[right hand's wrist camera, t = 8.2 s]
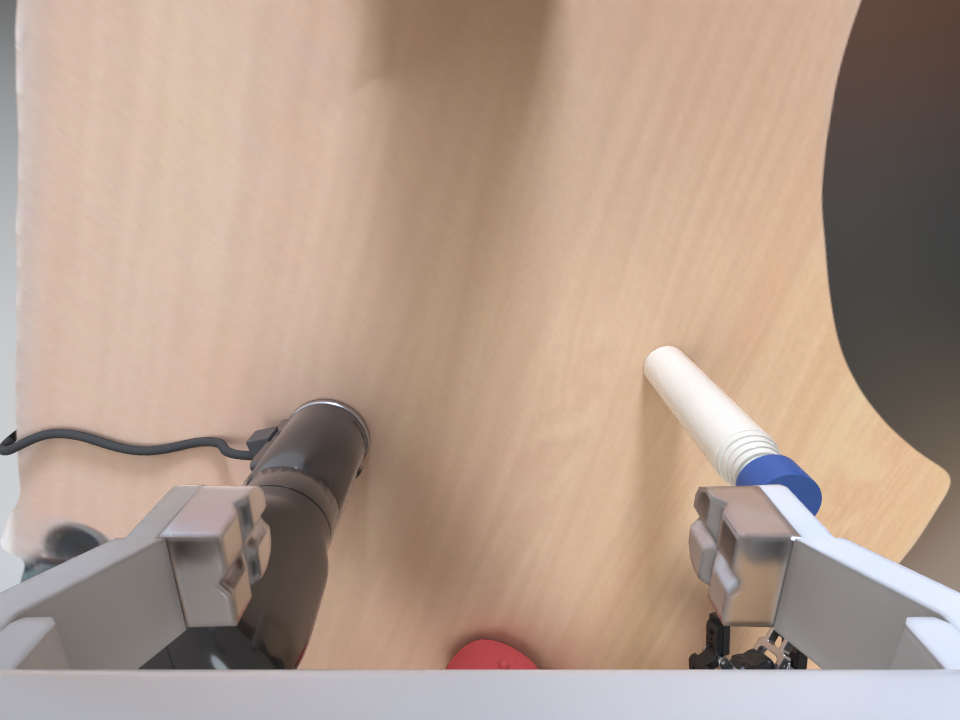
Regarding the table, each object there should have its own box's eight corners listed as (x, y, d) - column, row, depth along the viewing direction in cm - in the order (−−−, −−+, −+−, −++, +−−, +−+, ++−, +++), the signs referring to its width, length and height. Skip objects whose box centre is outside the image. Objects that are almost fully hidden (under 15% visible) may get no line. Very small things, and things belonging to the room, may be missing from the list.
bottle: (646, 390, 62) (750, 536, 38) (640, 351, 60) (745, 477, 36) (689, 381, 61) (821, 522, 38) (684, 341, 60) (819, 462, 36)
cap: (737, 514, 40) (754, 538, 38) (732, 461, 39) (749, 481, 36) (801, 502, 40) (822, 525, 37) (799, 447, 38) (821, 468, 36)
